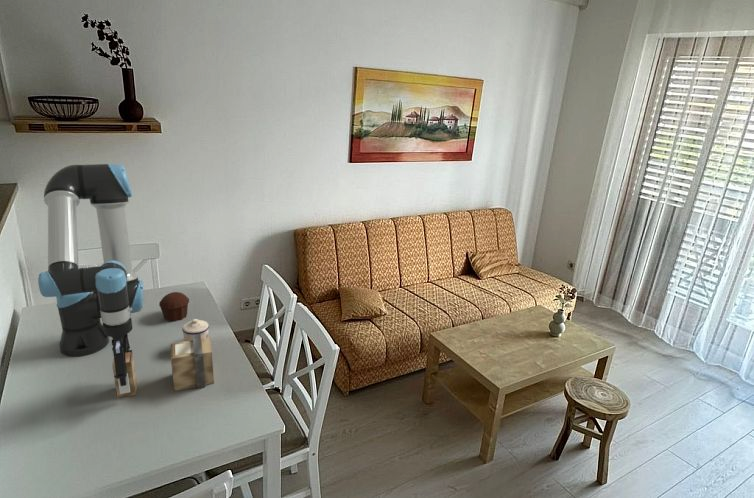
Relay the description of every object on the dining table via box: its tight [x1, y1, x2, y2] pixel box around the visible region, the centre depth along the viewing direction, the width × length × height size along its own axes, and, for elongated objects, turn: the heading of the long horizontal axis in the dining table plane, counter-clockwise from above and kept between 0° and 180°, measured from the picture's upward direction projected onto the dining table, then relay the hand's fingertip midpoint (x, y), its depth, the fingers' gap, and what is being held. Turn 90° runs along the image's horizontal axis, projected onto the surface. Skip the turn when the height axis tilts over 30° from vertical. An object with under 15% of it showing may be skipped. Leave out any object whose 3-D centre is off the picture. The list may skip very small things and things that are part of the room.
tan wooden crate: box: [170, 334, 215, 391], centre depth 149 cm, size 12×12×13 cm
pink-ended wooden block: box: [112, 351, 138, 399], centre depth 141 cm, size 5×6×12 cm
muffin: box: [158, 291, 190, 322], centre depth 187 cm, size 12×11×10 cm
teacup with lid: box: [181, 318, 210, 342], centre depth 167 cm, size 12×9×12 cm
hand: (126, 382), depth 143 cm, fingers open, 9 cm apart
